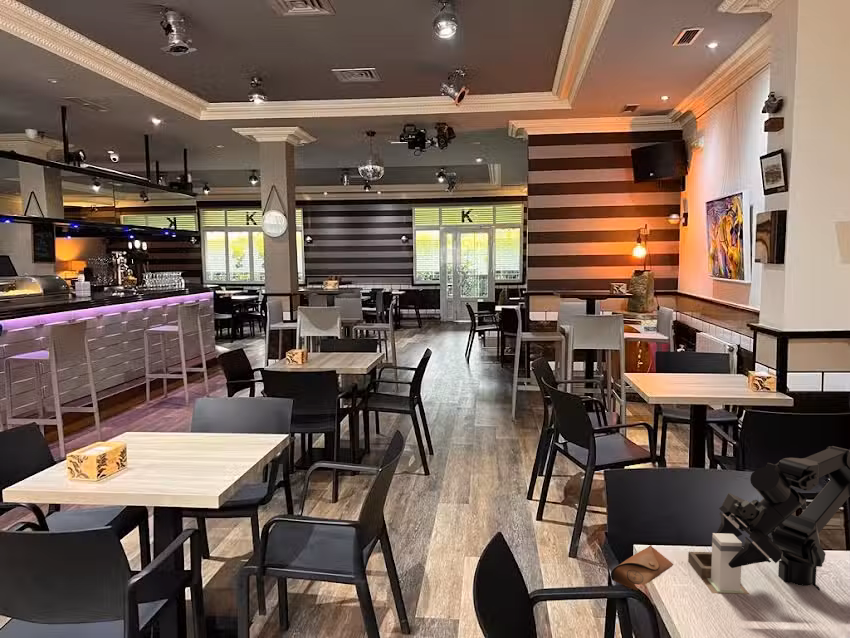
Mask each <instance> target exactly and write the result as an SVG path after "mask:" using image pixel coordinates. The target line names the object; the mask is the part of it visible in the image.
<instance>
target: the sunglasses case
mask: <svg viewBox="0 0 850 638" xmlns="http://www.w3.org/2000/svg"><path fill="white" fill-rule="evenodd" d="M674 565H675V564H674V563H673V562H671V560H669V559H668V558H667V557H665V556H664V555H663V554H662V553H660V552H659V551H658V550H657V549H656V548H654V547H653V545H652V544H651V545H649V546H647V547H646V548H643V549H642V550H640V551H638V552H637V553H635V554H633V555H632V556H630V557H628V558H626V559H625V560H624V561H622V562H621V563H620V564H618V565H616V566H615V567H613V568H612V570H611V572H610V579H611V580H612V582H614V583H615V582H616V583H618V584H620V585H623V586H624V587H625V586H626V587H628V588H631V589H633V590H635V591H639V589H638V588H637V586H636V585H639V586H640V585H647V584H648V583H650V582H651V581H654V580H655V579H656V578H658V577H659V576H660V575H661V574H663V573H665V572H666V571H668V570H669V569H671V568H672V567H673V566H674Z"/></svg>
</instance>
